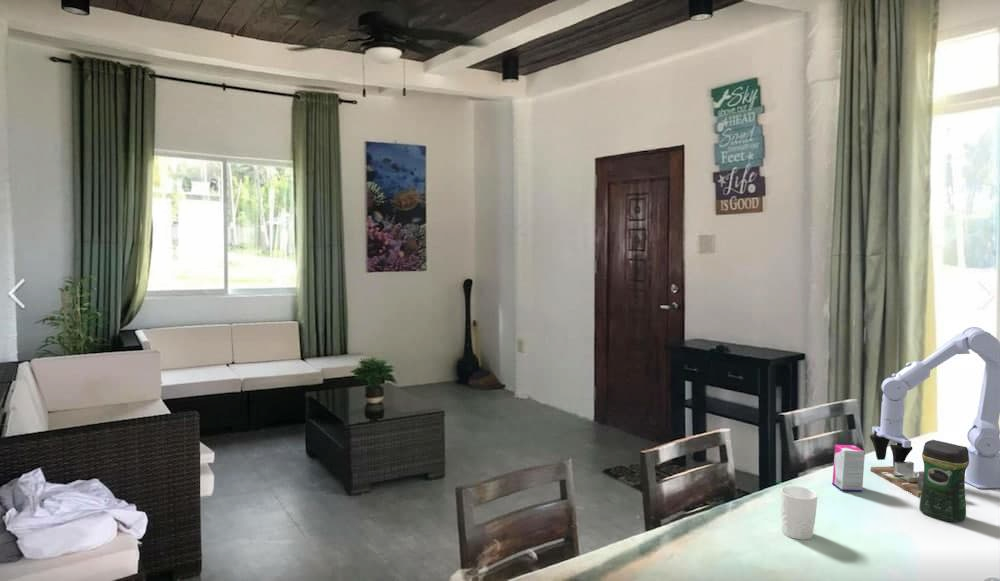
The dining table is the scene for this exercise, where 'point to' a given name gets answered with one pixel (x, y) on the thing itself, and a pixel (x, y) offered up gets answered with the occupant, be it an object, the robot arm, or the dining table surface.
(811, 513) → the white cup
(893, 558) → the dining table surface
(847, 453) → the supplement box
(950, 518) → the coffee jar
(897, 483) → the gauge frame
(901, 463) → the brushed steel block
